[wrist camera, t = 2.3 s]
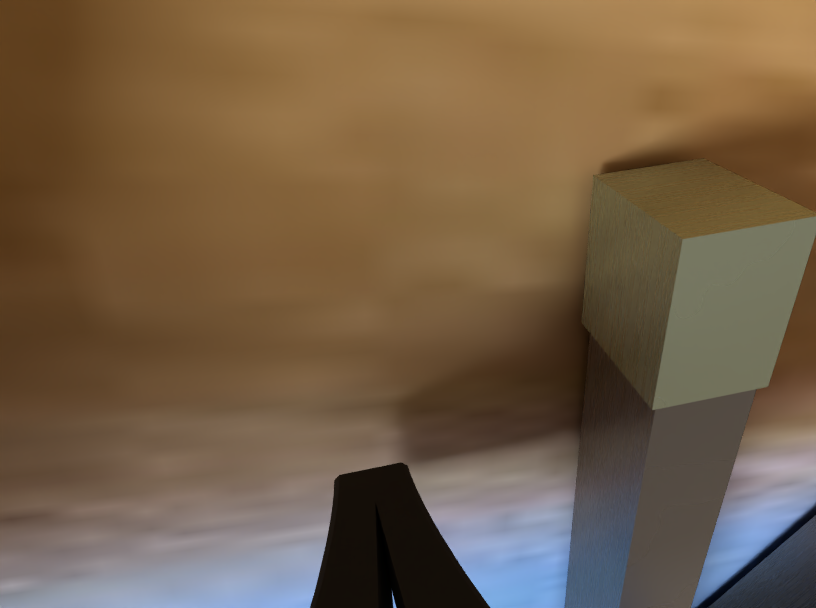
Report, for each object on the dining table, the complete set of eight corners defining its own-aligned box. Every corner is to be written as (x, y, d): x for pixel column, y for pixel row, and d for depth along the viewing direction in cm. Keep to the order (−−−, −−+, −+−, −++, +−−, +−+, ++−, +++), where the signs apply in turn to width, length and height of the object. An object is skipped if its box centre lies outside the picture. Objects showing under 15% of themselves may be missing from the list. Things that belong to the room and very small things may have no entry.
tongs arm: (703, 157, 10) (822, 215, 8) (612, 650, 18) (655, 743, 16) (593, 175, 10) (682, 239, 7) (553, 665, 18) (589, 761, 16)
